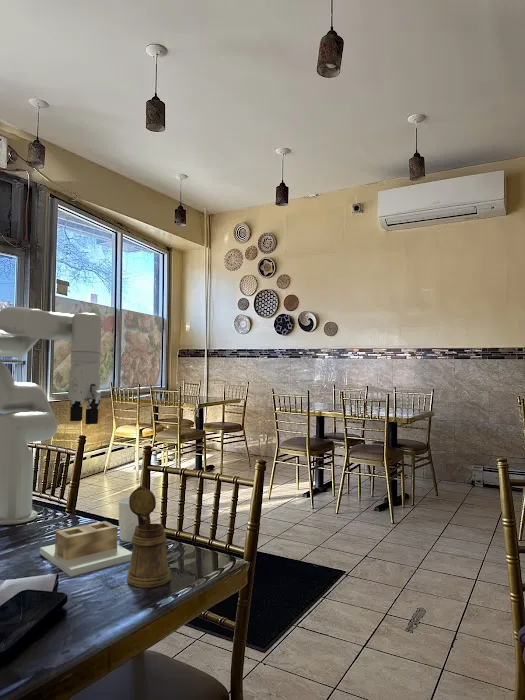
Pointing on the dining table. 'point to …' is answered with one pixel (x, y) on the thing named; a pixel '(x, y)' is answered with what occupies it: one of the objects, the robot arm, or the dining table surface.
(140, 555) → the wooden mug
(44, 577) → the dining table surface
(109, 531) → the tan hollow block
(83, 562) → the post board
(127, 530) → the white cup
